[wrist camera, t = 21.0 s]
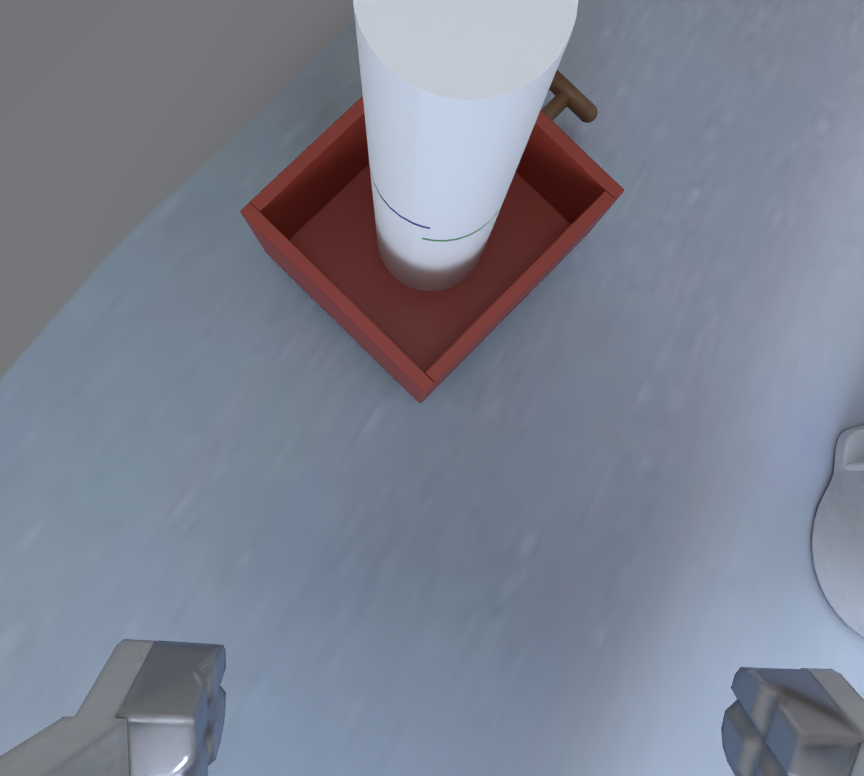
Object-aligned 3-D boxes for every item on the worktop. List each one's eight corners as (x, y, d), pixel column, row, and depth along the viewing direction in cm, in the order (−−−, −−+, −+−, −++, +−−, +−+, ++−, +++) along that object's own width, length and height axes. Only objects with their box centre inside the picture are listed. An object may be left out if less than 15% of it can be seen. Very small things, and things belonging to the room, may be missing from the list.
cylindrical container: (403, 170, 47) (409, -149, 22) (500, 214, 47) (612, -58, 22) (359, 264, 46) (314, 41, 22) (457, 308, 46) (525, 135, 22)
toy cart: (484, 63, 53) (507, -40, 42) (625, 197, 52) (685, 128, 41) (273, 264, 50) (239, 211, 39) (418, 407, 50) (424, 392, 39)
